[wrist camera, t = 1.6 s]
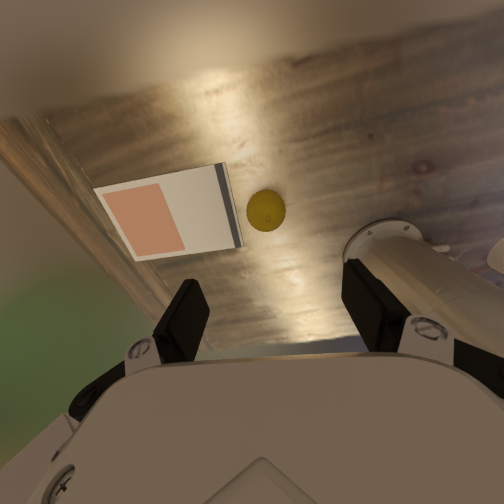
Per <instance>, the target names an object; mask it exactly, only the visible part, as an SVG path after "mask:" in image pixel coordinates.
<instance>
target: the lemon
mask: <svg viewBox="0 0 504 504" xmlns="http://www.w3.org/2000/svg"><path fill="white" fill-rule="evenodd" d="M246 211H247V217H248V220H249V222H250V224H251V225H252V226H253V227H254V228H255V229H257V230H259V231H262V232H269V231H273V230H275V229H276V228H278V227H279V226H280V225H281V223H282V222H283V220H284V218H285V213H286V209H285V204H284V201H283V199H282V198H281V197H280V196H279V195H278V194H277V193H275V192H273V191H269V190H263V191H260V192H257V193H256V194H254V195H253V196H252V197H251V199H250V200H249V202H248V204H247V210H246Z"/></svg>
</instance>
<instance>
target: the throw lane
mask: <svg viewBox="0 0 504 504" xmlns="http://www.w3.org/2000/svg"><path fill="white" fill-rule="evenodd" d="M93 190H94V191H95V193H96V195H97V196H98V198H99V200H100V201H101V203H102V205H103V207H104V208H105V210H106V212H107V213H108V215H109V217H110V219H111V220H112V222H113V224H114V225H115V227H116V229H117V231H118V232H119V234H120V236H121V237H122V239H123V241H124V243H125V244H126V246H127V248H128V249H129V251H130V253H131V255H132V256H133V258H134V260H135V261H142V260H149V259H157V258H164V257H171V256H178V255H186V254H193V253H200V252H207V251H215V250H222V249H229V248H238V247H244V244H243V240H242V235H241V231H240V226H239V222H238V218H237V213H236V209H235V204H234V200H233V195H232V191H231V187H230V182H229V178H228V173H227V169H226V165H225V162H224V163H219V164H214V165H209V166H204V167H199V168H194V169H189V170H184V171H179V172H174V173H169V174H164V175H160V176H155V177H150V178H145V179H140V180H135V181H130V182H125V183H120V184H115V185H110V186H105V187H100V188H95V189H93Z"/></svg>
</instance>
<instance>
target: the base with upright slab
mask: <svg viewBox="0 0 504 504" xmlns="http://www.w3.org/2000/svg"><path fill="white" fill-rule="evenodd" d="M487 264H488V265H489V267H490V268H492V269H494V270H496V271H498V272H500V273H502V274H504V238H502V239H501V240H500V241H498V242H497V243H496V244H495V245H494V246H493V248H492V249H491V250H490V252H489V254H488V257H487Z"/></svg>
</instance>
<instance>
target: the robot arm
mask: <svg viewBox="0 0 504 504" xmlns="http://www.w3.org/2000/svg"><path fill="white" fill-rule="evenodd" d="M449 250H450V247H449V245H448V244H446V243H443V244H436V245H431V244H429V243H428V242H426V241H424V240H423V236H422V234H421V232H420V231H419V229H418V228H417V227H415V226H414V225H412V224H410V223H408V222H406V221H403V220H398V219H388V220H382V221H379V222H375V223H373V224H371V225H369V226H367V227H365V228H363V229H362V230H360V231H359V232H358V233H357V234H356V235H355V236H354V237H353V238H352V239H351V240H350V241H349V243H348V245H347V246H346V249H345V251H344V256H343V263H344V265H343V279H342V294H341V297H342V301H343V303H344V305H345V307H346V309H347V311H348V312H349V314H350V316H351V318H352V320H353V322H354V324H355V326H356V328H357V329H358V331H359V333H360V335H361V337H362V339H363V341H364V343H365V344H366V346H367V348H368V350H369V352H357V353H331V354H311V355H292V356H274V357H256V358H239V359H222V360H205V361H194V359H195V356H196V353H197V350H198V347H199V344H200V341H201V338H202V335H203V332H204V329H205V326H206V323H207V320H208V317H209V313H210V310H209V307H208V304H207V302H206V300H205V297H204V295H203V292H202V290H201V288H200V285H199V283H198V281H197V280H195V279H186V280H184V282H183V283H182V285H181V287H180V288H179V290H178V292H177V293H176V295H175V296H174V298H173V300H172V301H171V303H170V305H169V306H168V308H167V310H166V311H165V313H164V315H163V316H162V318H161V319H160V321H159V323H158V324H157V326H156V328H155V329H154V331H153V332H154V333H153V335H152V336H145V337H142V338H140V339H138V340H137V341H135V342H134V343H133V344H132V345H130V347H129V348H128V349H127V351H126V353H125V357H124V361H122V362H121V363H119V364H118V365H116V366H115V367H113V368H112V369H110V370H109V371H108V372H106V373H105V374H104V375H102V376H100V377H99V378H97V379H96V380H94V381H93V382H92V383H90V384H89V385H87V386H86V387H85V388H83V389H82V391H80V392H79V394H77V396H76V397H75V398H74V399H73V401H72V403H71V405H70V407H69V410H68V412H67V413H66V414H64V413H62V414H61V415H60V416H59V417H58V418H57V419H55V420H54V421H53V422H52V423H51V424H50V425H49V426H48V427H47V428H46V429H44V430H43V431H42V432H41V433H40V434H39V435H38V436H37V437H36V438H35V439H34V440H32V441H31V442H30V443H29V444H28V445H27V446H26V447H25V448H24V449H22V450H21V451H20V452H19V453H18V454H17V455H16V456H15V457H14V458H13V459H11V460H10V461H9V462H8V463H7V464H6V465H5V466H4V467H3V468H2V469H1V470H0V504H504V289H502V288H500V287H499V286H497V285H495V284H493V283H492V282H490V281H488V280H486V279H485V278H483V277H481V276H479V275H478V274H476V273H474V272H472V271H471V270H469V269H467V268H465V267H464V266H462V265H460V264H458V263H457V262H455V261H454V258H453V257H452V256H451V255H449V254H445V255H443V254H441V252H448V251H449Z"/></svg>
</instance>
